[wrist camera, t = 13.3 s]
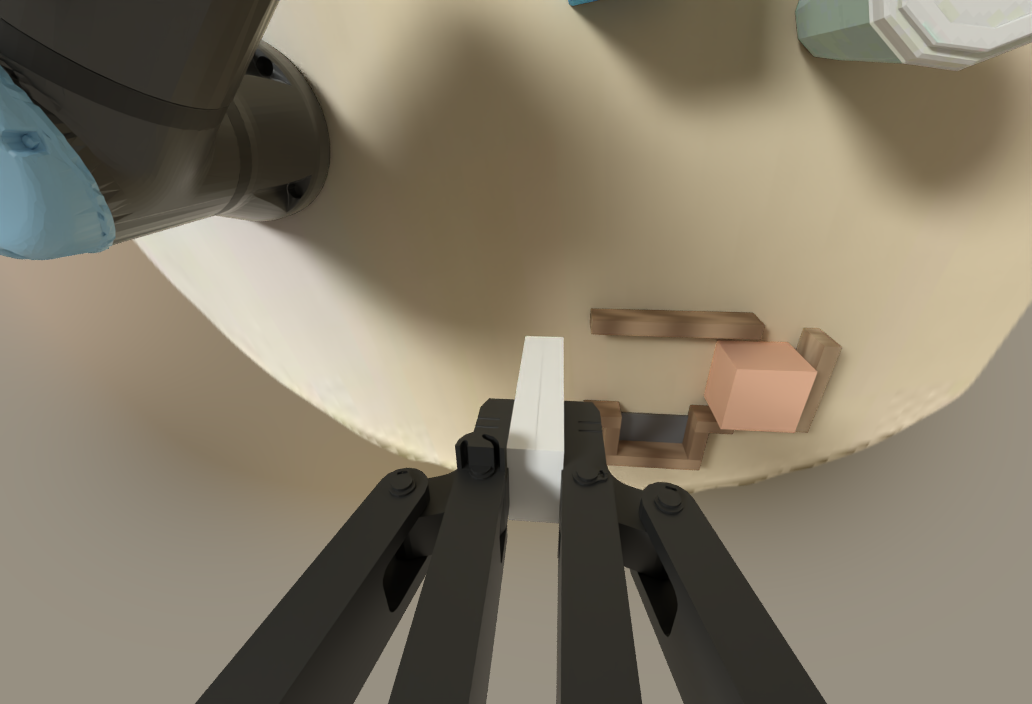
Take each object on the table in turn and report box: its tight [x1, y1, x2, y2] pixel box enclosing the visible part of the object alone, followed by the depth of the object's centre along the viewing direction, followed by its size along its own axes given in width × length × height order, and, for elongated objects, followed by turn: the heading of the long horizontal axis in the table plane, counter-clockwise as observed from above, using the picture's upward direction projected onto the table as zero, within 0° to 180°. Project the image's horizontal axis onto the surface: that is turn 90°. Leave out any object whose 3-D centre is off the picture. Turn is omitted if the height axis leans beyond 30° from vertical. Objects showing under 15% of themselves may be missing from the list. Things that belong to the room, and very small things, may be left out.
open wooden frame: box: [584, 308, 842, 470], centre depth 46 cm, size 23×18×4 cm
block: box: [704, 340, 817, 433], centre depth 43 cm, size 7×7×6 cm
